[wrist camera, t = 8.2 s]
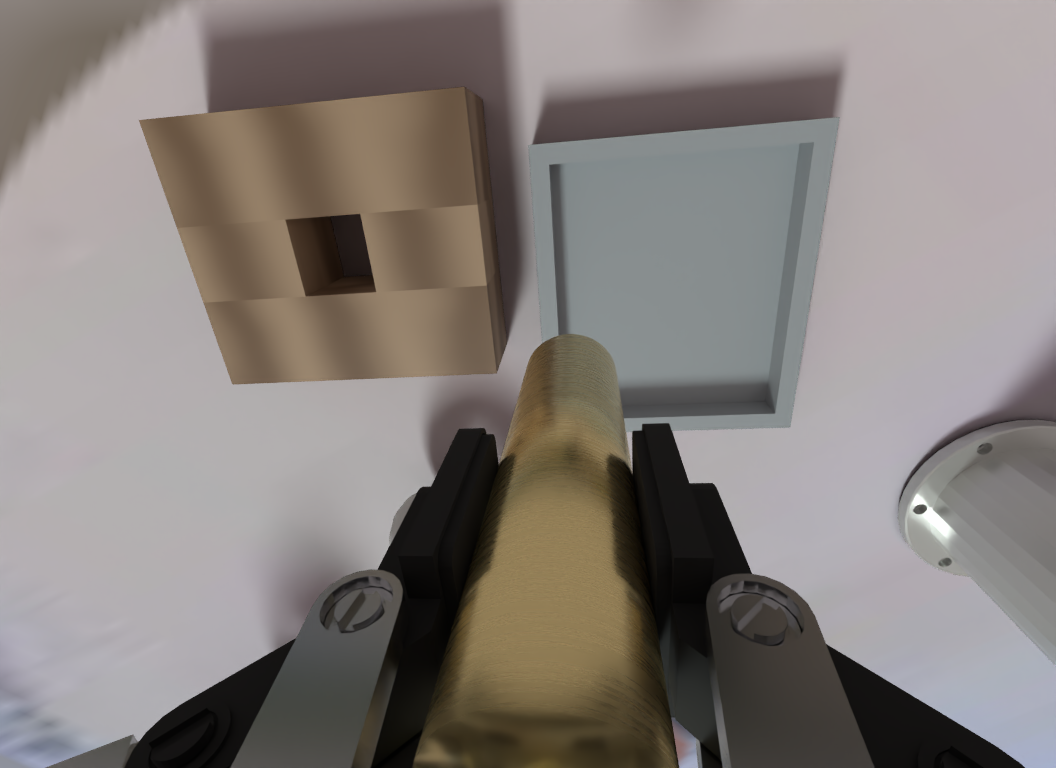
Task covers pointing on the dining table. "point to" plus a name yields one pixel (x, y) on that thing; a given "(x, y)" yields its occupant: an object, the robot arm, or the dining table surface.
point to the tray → (687, 263)
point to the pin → (556, 593)
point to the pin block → (309, 242)
